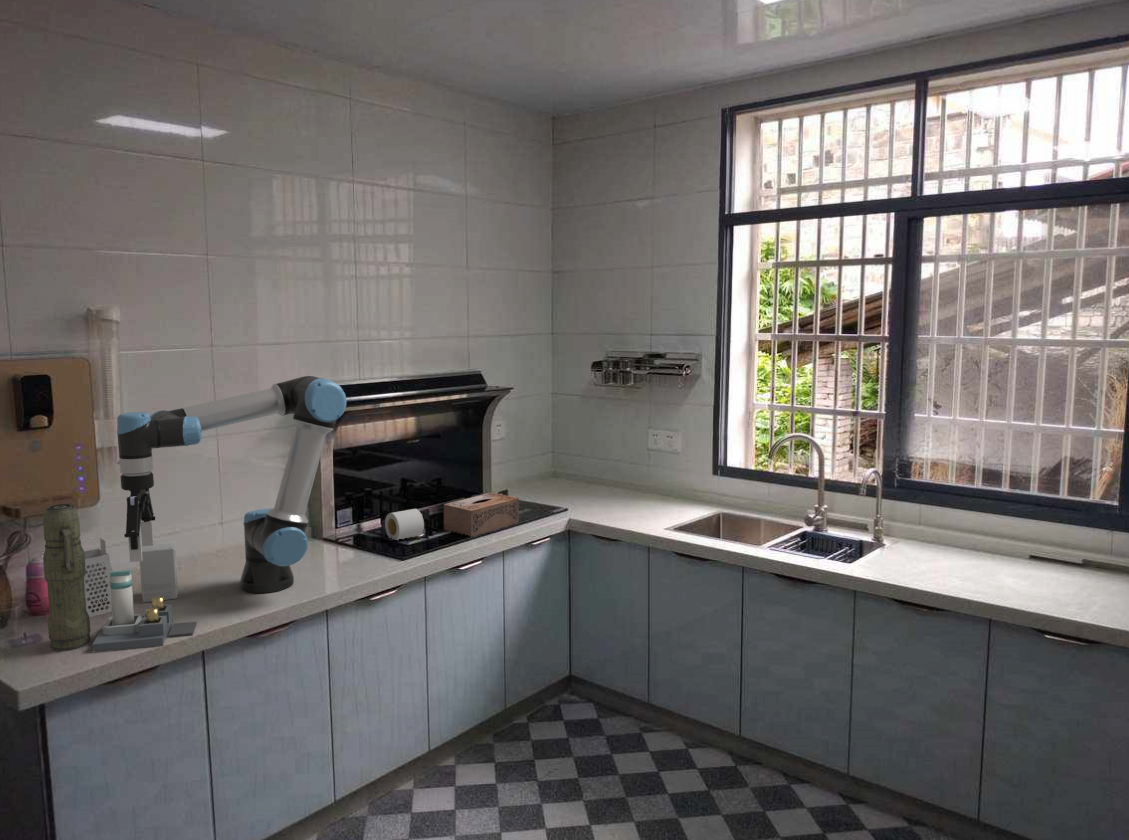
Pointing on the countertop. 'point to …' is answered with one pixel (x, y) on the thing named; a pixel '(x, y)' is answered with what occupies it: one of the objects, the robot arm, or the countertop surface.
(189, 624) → the mat
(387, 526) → the toilet paper
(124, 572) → the cartridge
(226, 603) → the countertop surface
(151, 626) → the housing
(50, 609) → the thermos
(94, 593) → the grater
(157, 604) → the plunger
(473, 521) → the tissue box cover
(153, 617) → the plunger
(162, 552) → the supplement box
